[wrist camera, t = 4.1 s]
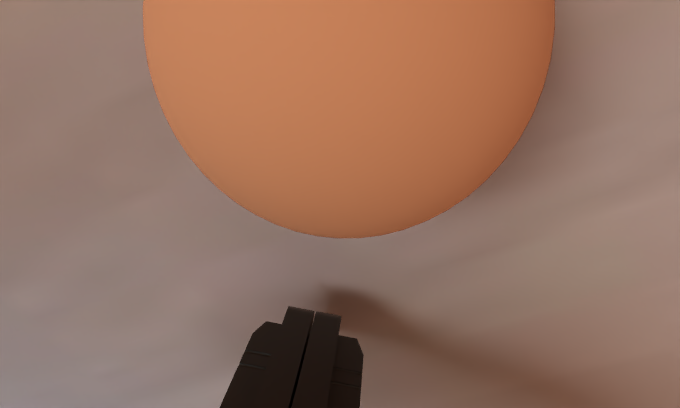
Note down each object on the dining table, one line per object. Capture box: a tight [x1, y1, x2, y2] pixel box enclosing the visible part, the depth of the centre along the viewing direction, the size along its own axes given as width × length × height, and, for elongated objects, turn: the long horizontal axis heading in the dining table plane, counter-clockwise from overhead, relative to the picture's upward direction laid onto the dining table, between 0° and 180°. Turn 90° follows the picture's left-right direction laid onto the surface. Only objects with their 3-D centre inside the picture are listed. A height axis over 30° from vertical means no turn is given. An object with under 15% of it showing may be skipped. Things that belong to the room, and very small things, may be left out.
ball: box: [143, 0, 555, 238], centre depth 6 cm, size 6×6×6 cm
